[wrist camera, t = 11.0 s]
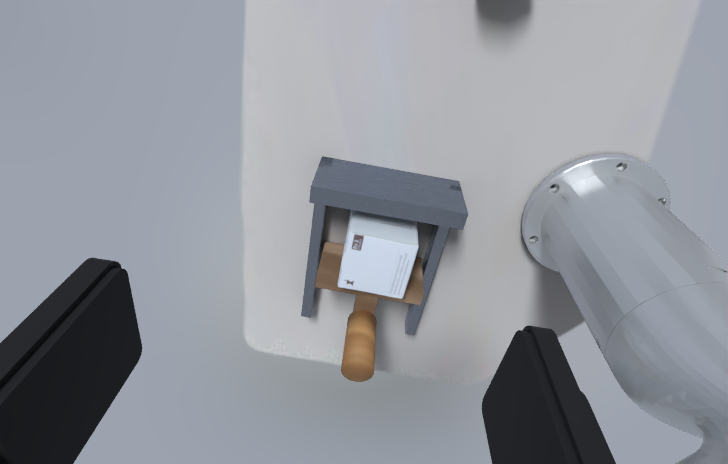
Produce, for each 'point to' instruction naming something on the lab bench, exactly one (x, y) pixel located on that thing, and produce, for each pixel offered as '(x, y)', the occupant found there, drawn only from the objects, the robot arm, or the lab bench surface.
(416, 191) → the clamp frame
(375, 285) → the skincare box
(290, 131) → the lab bench surface
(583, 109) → the lab bench surface
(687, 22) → the lab bench surface
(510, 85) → the lab bench surface
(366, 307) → the sliding jaw
